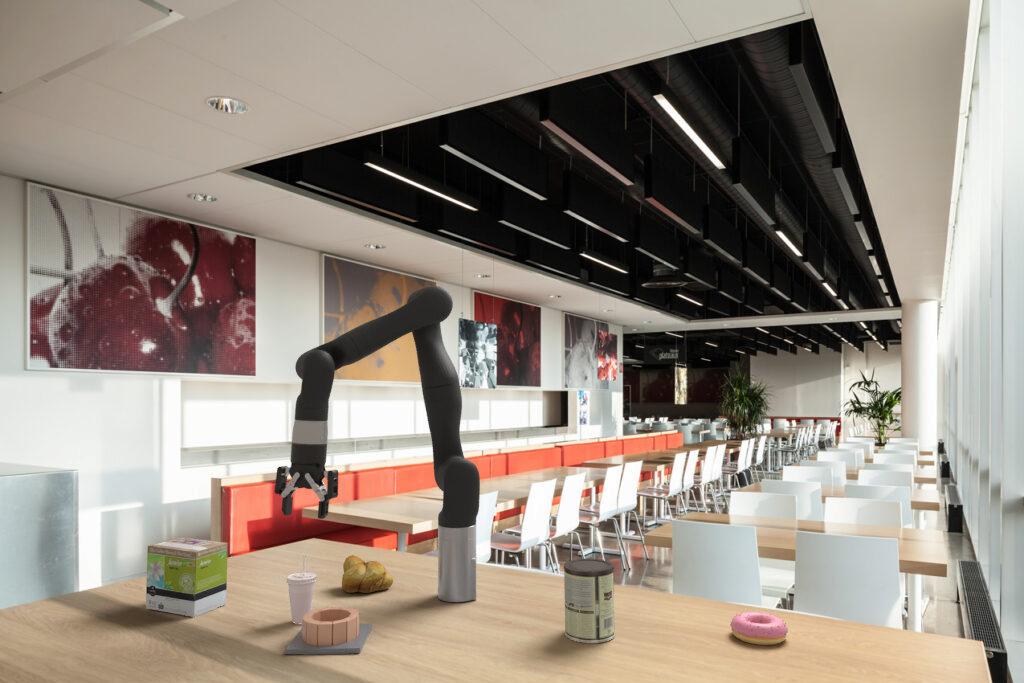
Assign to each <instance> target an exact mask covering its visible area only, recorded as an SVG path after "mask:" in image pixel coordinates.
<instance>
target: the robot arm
mask: <svg viewBox="0 0 1024 683" xmlns="http://www.w3.org/2000/svg"><path fill="white" fill-rule="evenodd" d="M453 304H454V302H453V297H452V295H451V294H450V292H448V290H447V289H445V288H444V287H441V286H439V285H428V286H425V287H422V288H420V289H417V290H415V291H413V292H412V293H410V295H409V296H408V298H407V302H406V303H405V304H404V305H402V306H401V307H399V308H397V309H394V310H393V311H390V312H388V313H387V314H384V315H381V316H380V317H377V318H373V319H371V320H369V321H367V322H364V323H362V324H360V325H358V326H356V327H354V328H352V329H351V330H348V331H347V332H344V333H343V334H340V335H338V336H337V337H336V338H335V339H333V340H331V341H328V342H325V343H323V344H321V345H318V346H315V347H313V348H311V349H310V350H309V349H308V350H307V351H305V352H303V353H302V354H301V355H299V357H298V358H297V360H296V362H295V366H294V367H295V368H294V369H295V372H296V375H297V376H298V377H299V379H301V388H300V392H299V395H298V396H297V398H296V401H295V408H294V410H295V411H294V423H293V426H292V436H291V447H290V448H291V449H290V460H289V461H290V466H289V467H288V466H287V465H281V466H278V467H277V469H276V476H275V484H274V492H273V493H274V494H275V495H279V496H281V498H282V500H281V501H282V502H281V503H282V504H281V512H282V515H283V516H291V515H292V512H293V500H294V497H293V495H294V493H295V492H296V491H297V490H298V489H306V490H312V491H313V493H315V494H316V495H317V498H318V499H319V501H318V511H317V519H319V520H320V519H321V520H323V519H325V518H327V516H328V514H329V507H330V501H331V500H333V499H335V498H338V495H339V470H337V469H330V470H327V469H326V467H325V466H326V463H327V453H328V452H327V450H328V441H329V439H328V438H329V426H328V424H329V422H328V420H329V406H330V405H329V401H330V396H331V393H332V389H333V384H334V378H335V373H336V371H337V370H339V369H341V368H343V367H346V366H350V365H352V364H356V363H357V362H359V361H361V360H363V359H364V358H366V357H369V356H371V355H372V354H374V353H375V352H377V351H379V350H381V349H382V348H384V347H386V346H387V345H389V344H391V343H393V342H395V341H397V340H398V339H400V338H402V337H404V336H406V335H408V334H409V333H412V336H413V337H412V338H413V342H414V345H415V350H416V351H415V352H416V356H417V357H416V358H417V364H418V365H417V366H418V370H419V375H420V384H421V389H422V391H421V392H422V398H423V403H424V408H425V412H426V418H427V424H428V429H429V432H430V437H431V443H432V444H431V445H432V447H431V448H432V460H433V461H432V462H433V474H434V481H435V484H436V486H437V488H439V490H441V492H443V493H442V496H443V498H442V507H441V511H439V513H438V514H437V515H438V516H437V598H438V599H439V600H440V601H443V602H448V603H461V602H462V603H463V602H469V601H475V600H477V517H478V514H479V510H480V494H481V492H480V491H481V477H480V471H479V468H478V467H477V465H476V464H475V463H474V462H473V461H471V460H469V459H466V458H465V455H464V452H463V446H462V441H461V432H460V429H461V428H460V426H461V422H462V421H461V420H462V412H463V397H462V391H461V384H460V380H459V378H460V377H459V375H458V372H457V369H456V367H455V364H454V363H453V361H452V360H451V357H450V355H449V354H448V352H447V349H446V347H445V344H444V341H443V335H442V328H441V323H442V322H444V321H446V320H447V319H448V317H449V316H450V314H451V313H452V311H453V308H454V307H453ZM289 475H290V478H291V479H290V480H289V482H288V483H287V481H288V477H289ZM324 478H325V480H326V481H327V482H326V483H325V482H324ZM326 484H327V485H326Z"/></svg>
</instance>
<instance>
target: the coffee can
mask: <svg viewBox="0 0 1024 683" xmlns="http://www.w3.org/2000/svg"><path fill="white" fill-rule="evenodd" d="M562 565H563V570H564V571H563V572H564V573H563V575H564V576H563V577H564V579H563V580H564V582H563V583H564V584H563V585H564V587H563V588H564V636H565V635H566V636H565V637H566V638H567V637H568V638H570V639H571V641H572V640H574V641H573V642H576V641H577V642H576V643H580V642H584V643H583V644H600V643H599V642H604V643H606V642H605V641H607V642H609V640H610V641H612V640H613V639H615V636H616V633H615V593H614V592H615V588H614V586H615V584H614V583H615V582H614V570H615V565H614V563H612V562H610V561H609V560H604V559H597V558H578V559H577V558H576V559H570V560H567V561H565V562H564V563H563V564H562ZM568 638H567V639H568ZM570 639H569V640H570ZM611 639H612V640H611Z"/></svg>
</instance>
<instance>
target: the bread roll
mask: <svg viewBox="0 0 1024 683" xmlns="http://www.w3.org/2000/svg"><path fill="white" fill-rule="evenodd" d="M342 567H343V574H342V576H341V577H342V580H341V588H342V589H343V590H344V592H346V593H358V592H359V593H362V594H363V593H364V594H365V593H366V594H367V593H373V592H377V591H378V592H379V591H384V590H387V589H389V588H390V587H391V586H393V584H394V578H393V576H392V575H391V573H389V572H387V570H386V567H385V565H384V564H382V563H381V562H379V561H377V560H376V561H375V560H369V561H367V562H365V561H364V560H363V559H361V557H359V556H357V555H353V554H352V555H349V556H347V557H346V558H345V560H344V562H343V566H342Z"/></svg>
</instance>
